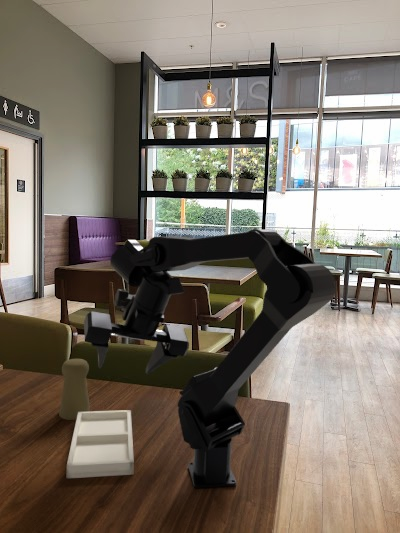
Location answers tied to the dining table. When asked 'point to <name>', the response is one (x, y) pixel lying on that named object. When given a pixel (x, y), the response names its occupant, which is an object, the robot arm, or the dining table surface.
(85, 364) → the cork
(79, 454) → the tray
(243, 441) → the dining table surface
